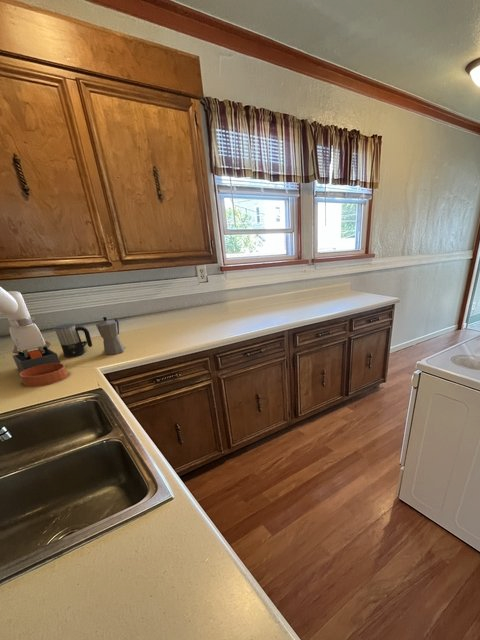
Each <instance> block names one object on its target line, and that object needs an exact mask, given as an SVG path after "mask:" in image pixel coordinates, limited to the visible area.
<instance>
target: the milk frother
mask: <svg viewBox="0 0 480 640" xmlns="http://www.w3.org/2000/svg"><path fill="white" fill-rule="evenodd" d="M52 329H53V330H54V332H55V335H56V336H57V339H58V343H59V344H60V347H61V349H62V353H63V356H64V357H65V358H74V357H75V358H76V357H79V356H82V355H84V354H85V353H86V351H85V347H86V346H88V347H89V348H92V347H93V342H92V338H91V333H90V331H89V330H88V328H87V327H85V326H84V325H83V326H82V325H77V326H76V324H75V323H63V324H58V325H55V326H53V327H52ZM79 331H81V332H83V333H84V336H85V340H83V341H82V339H81V336H80V334H79Z"/></svg>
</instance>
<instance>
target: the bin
mask: <svg viewBox="0 0 480 640" xmlns="http://www.w3.org/2000/svg"><path fill="white" fill-rule="evenodd" d="M44 354H45V356H43V357H38V358H34V359H30V360H26V357H24V356H22V355H20V354H14V355H12V358H13V359H12V360H13V361H14V363H15V365H16V368H17V370H18V372H19V373H21V372H22V371H24V370H26V369H28V368H31V367H34V366H38V365H42V364H49V363H61V361H60V359H59V356H58V353H56V352H55V351H53V350H51V349H50V348H49V347H48V348H47V350H46V351H45V353H44Z"/></svg>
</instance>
